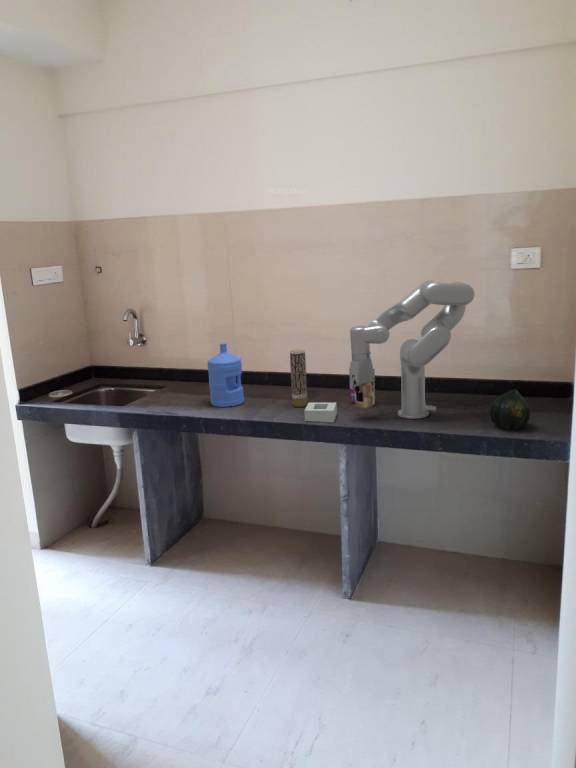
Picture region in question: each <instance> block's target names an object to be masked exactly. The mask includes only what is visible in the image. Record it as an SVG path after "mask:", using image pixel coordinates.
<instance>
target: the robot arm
mask: <svg viewBox="0 0 576 768" xmlns="http://www.w3.org/2000/svg"><path fill="white" fill-rule="evenodd" d="M474 298H475V290H474V288H473V287H472V286H471V285H470V284H468V283H463V282H460V281H452V282H450V283H447V282H437V281H434V280H425V281H423V282H422V283H421V284H420V285H418V286H417V287H416V288H415V289H414V290H412V291H411V292H410V293H409V294H408V295H406V296H405V297H404V298H402V299H401V300H400V301H399V302H397V303H396V304H394V305H392V306H391V307H389V308H388V309H387V310H385V311H384V312H382V313H380V314H379V315H378V316H377V317H376V318H374V319H373V320H372V321H370V323H369V324H368V326H367V325H366V326H365V325H355V326H352V327H351V328H350V329H349V338H350V351H351V361H350V362H349V364H350V365H349V368H350V373H349V389H350V388H352V389H353V390H355V392H356V400H357V401H360V402H363V393H362V392H361V390H362V385H363V384H366V383H369V382H371V384H373V383H374V381H376V378H374V372H373V369H374V366H373V361H372V358H371V345H370V344H373V345H374V344H375V345H377V344H378V345H379V344H380V345H381V344H384V343H386V342H387V341H389V338H390V331H389V330H392V328H394V327H395V326H397V325H398V324H401V323H403V322H408V321H411V320H412V319H415V317H417V316H418V315H419V314H420V313H421V312H422V311H424V310H425V309H427V308H428V306H430V305H439V306H443V307H442V309H441V310H439V312H438V313H437V314H436V315H435V316H434V317H433V318H432V319H431V320H429V321H428V322H427V323H426V324H425V325H423V327H422V329H421V331H420V335H421V338H420V339H419V340H418V339H414V338H411V339H407V340H405V341H404V342H403V343H402V345H401V346H400V349H399V358H400V359H399V360H400V368H401V369H400V373H401V374H400V375H401V379H400V380H401V383H400V384H401V387H400V388H401V389H400V390H401V394H400V396H401V399H400V400H401V409H398V411H397V415H398V417H400V418H403V419H411V420H412V419H413V420H415V419H423V418H427V417H428V416H429V413H430V412H437V406H433V405H428V404H426V395H425V394H426V371H425V370H426V368H425V366H427V365H428V364H429V363H430V362H431V361H432V360H434V359H435V358H436V357H437V356H438V355H439V354H440V353H442V352H443V350H444V349H445V348H447V346H448V345H449V344H450V342H451V339H452V333H451V331H452V330H453V329H454V328H455V327H456V326H457V325H458V324H459V323H460V322H461V320H462V319H463V317H464V315H465V312H466V306H468V305H469V304H471V303H472V302H473V300H474ZM358 386H359V388H358Z"/></svg>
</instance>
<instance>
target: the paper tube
mask: <svg viewBox="0 0 576 768" xmlns="http://www.w3.org/2000/svg"><path fill="white" fill-rule="evenodd" d="M289 361H290V362H289V365H290V381H291V382H290V383H291V385H290V386H291V400H292V401H291V402H292V406H293V407H295V408H303V407H307V405H308V386H307V384H308V382H307V364H306V362H307V361H306V350H305V349H292V350H289Z"/></svg>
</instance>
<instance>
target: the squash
mask: <svg viewBox="0 0 576 768" xmlns="http://www.w3.org/2000/svg"><path fill="white" fill-rule="evenodd" d="M489 416H490V419H491V422H492V423H494V424H495V425H498V426H500V427H502V428H503V429H504V430H506V431H508V430H510V429H511V430H517V429H519V428H521V427H524V426H526V425H527V423H528V422H529V421H530V416H531V409H530V406H529V404H528V401H526V399H525V398H524V397H523V395H522V394H521V393H520V392H519V391H518V390H517V389H516V388H515V389H511V390H508V391H506V392H504V393H502V394H501V395H499V396H498V397H497V398H496V399H495V400H494V401H493V403H492V404H491V406H490V410H489Z"/></svg>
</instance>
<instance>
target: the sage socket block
mask: <svg viewBox="0 0 576 768" xmlns="http://www.w3.org/2000/svg"><path fill="white" fill-rule="evenodd" d="M337 407H338V406H337V402H307V405H306V406H305V409H304V411H303V412H304V422H305V421H321V422H320V423H335V421H334V420H336V418H337V415H338V414H337V413H338V411H337V410H338V408H337ZM323 421H324V422H323Z"/></svg>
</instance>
